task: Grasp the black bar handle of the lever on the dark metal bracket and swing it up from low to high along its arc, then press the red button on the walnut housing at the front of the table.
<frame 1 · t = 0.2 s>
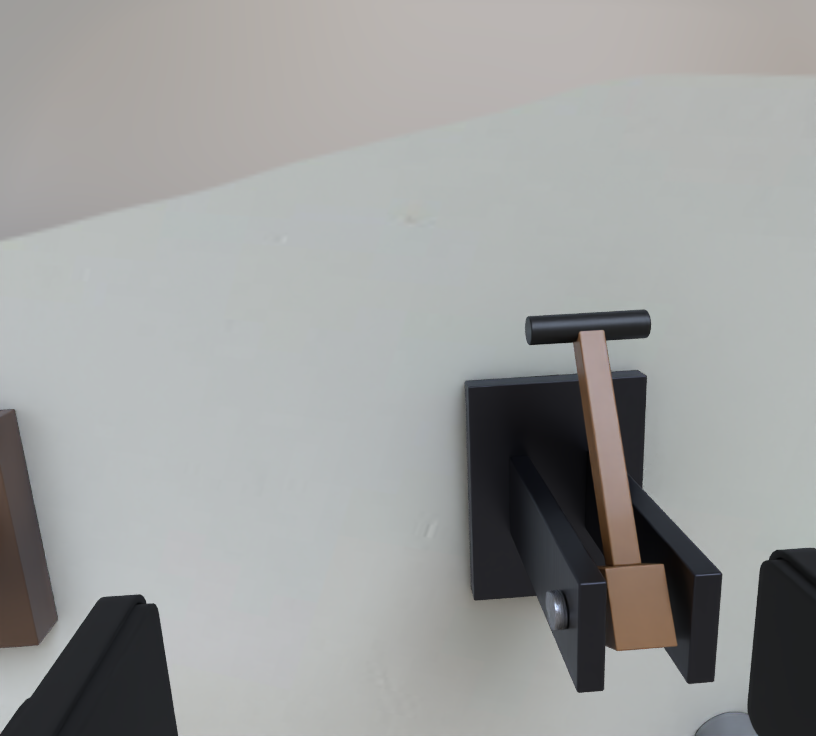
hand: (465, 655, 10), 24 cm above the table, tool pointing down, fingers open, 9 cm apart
lever: (608, 467, 26), point 8 cm above the table, hinge at -30.0°
bracket: (551, 483, 35), on the table
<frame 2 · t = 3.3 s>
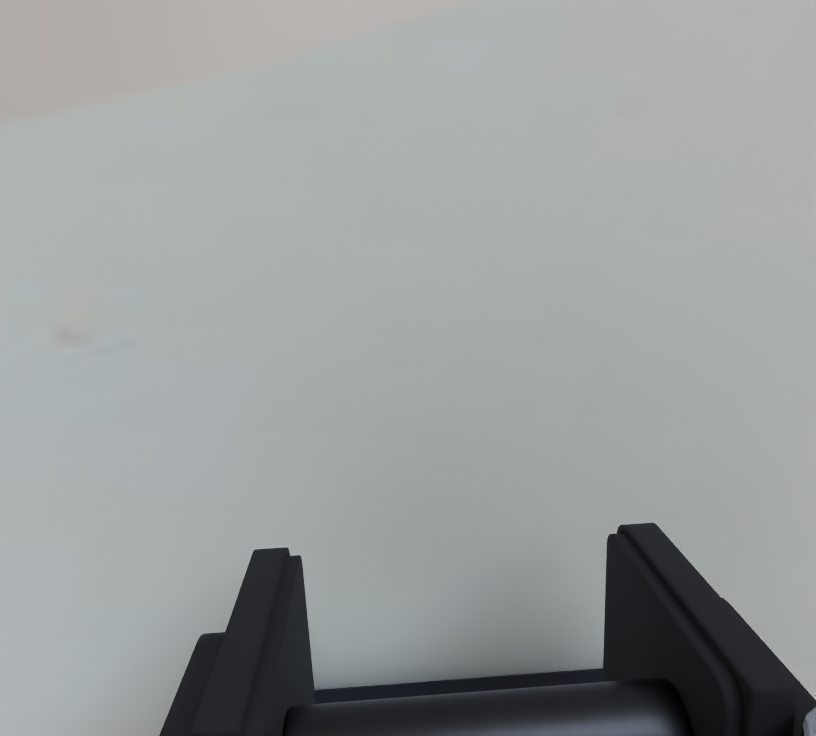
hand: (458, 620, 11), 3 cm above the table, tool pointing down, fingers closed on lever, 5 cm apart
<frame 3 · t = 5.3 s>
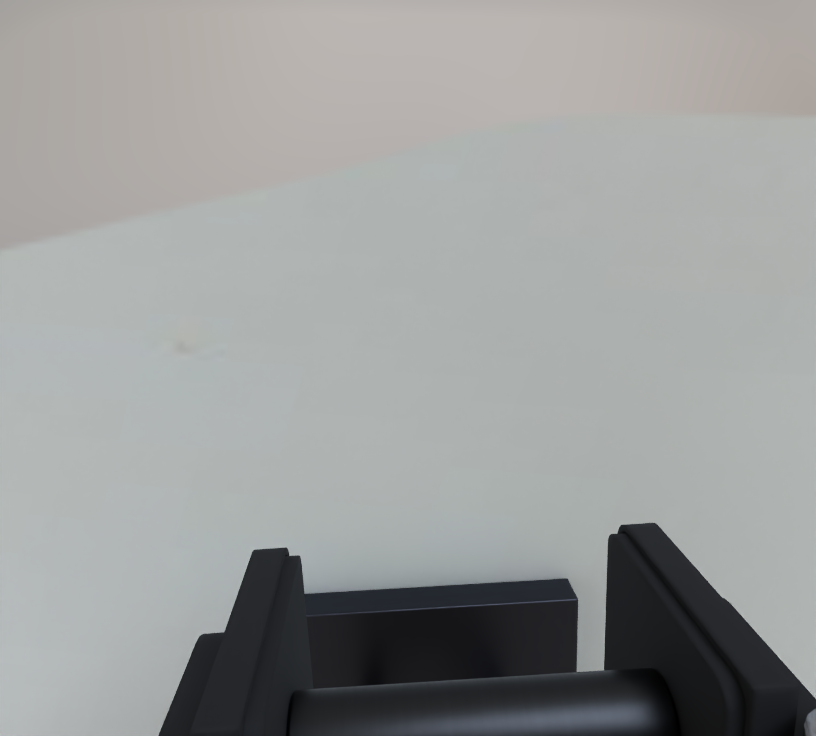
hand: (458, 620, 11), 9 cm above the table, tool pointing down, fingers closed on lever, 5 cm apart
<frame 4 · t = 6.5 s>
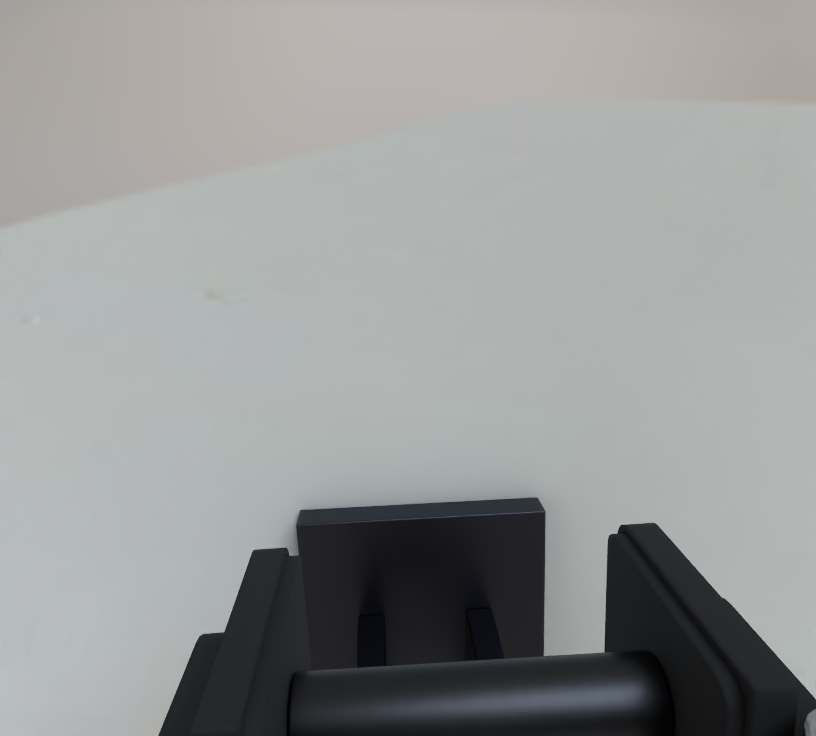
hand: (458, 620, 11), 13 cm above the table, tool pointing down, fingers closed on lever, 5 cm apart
bracket: (424, 642, 26), on the table
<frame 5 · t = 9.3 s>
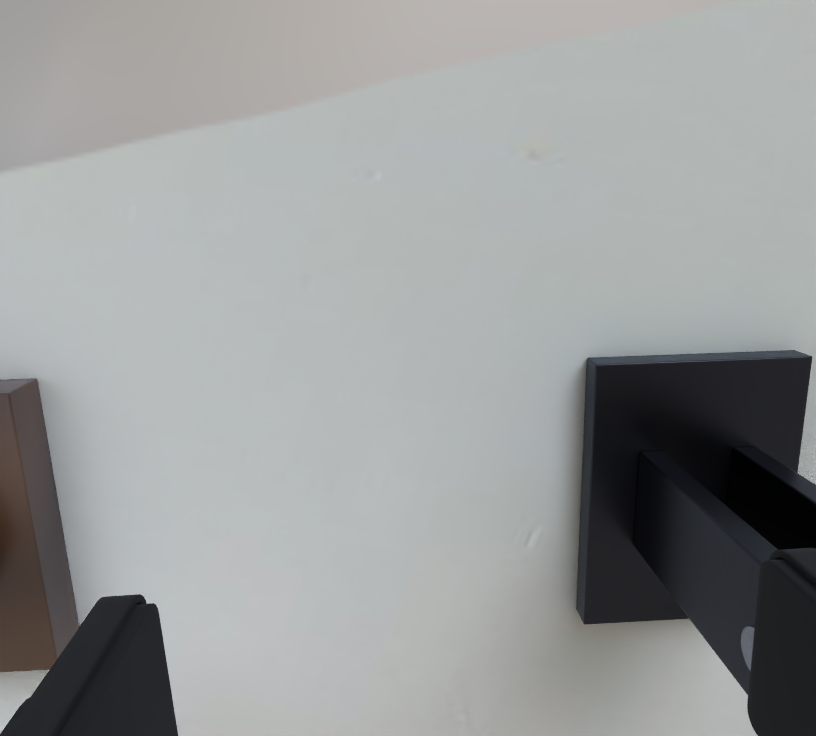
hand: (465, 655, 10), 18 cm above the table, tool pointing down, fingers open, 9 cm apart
bracket: (680, 485, 29), on the table
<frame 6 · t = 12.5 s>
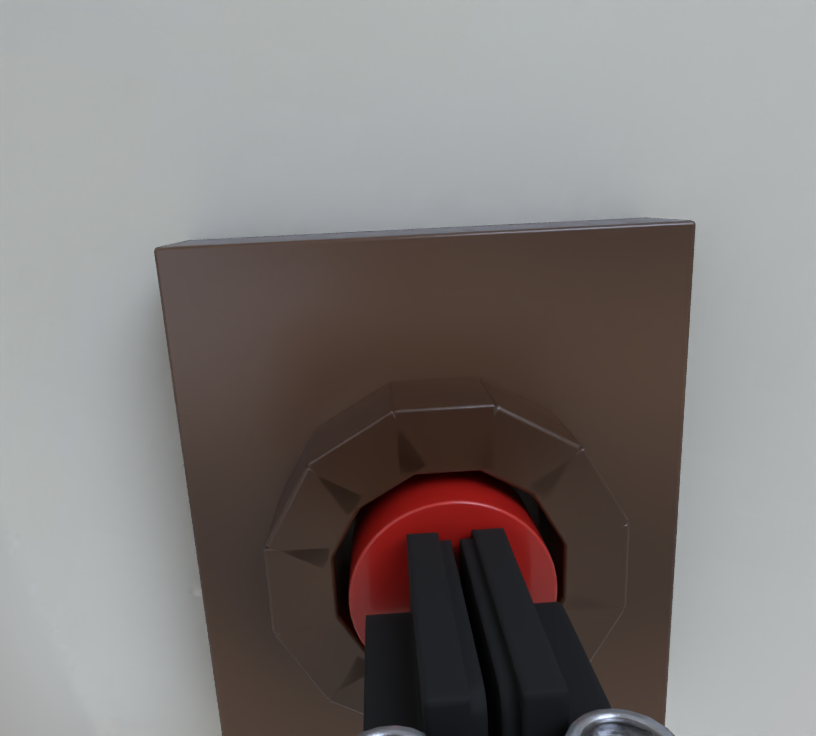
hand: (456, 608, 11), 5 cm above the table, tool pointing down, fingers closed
button: (448, 570, 12), point 4 cm above the table, slide at -0.7 cm, touching gripper
button box: (431, 486, 16), on the table
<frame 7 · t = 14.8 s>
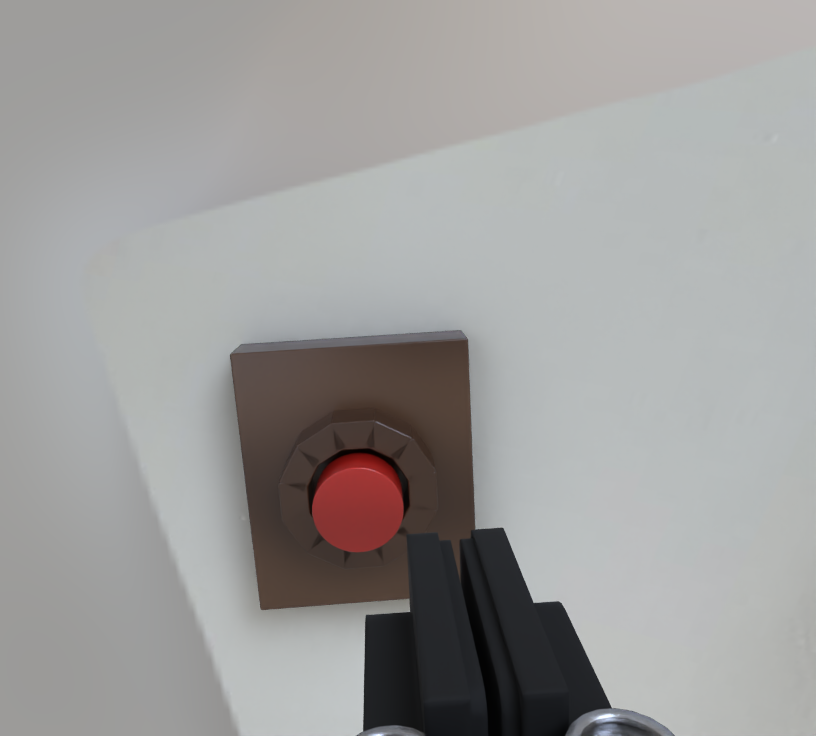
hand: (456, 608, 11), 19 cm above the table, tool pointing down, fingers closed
button: (358, 501, 27), point 4 cm above the table, slide at 0.1 cm
button box: (361, 462, 31), on the table
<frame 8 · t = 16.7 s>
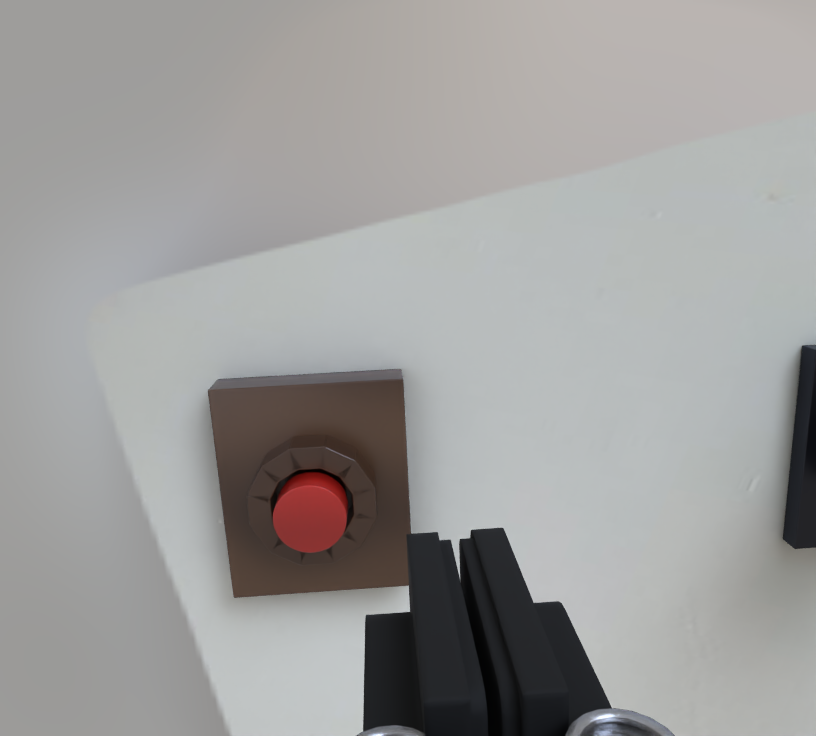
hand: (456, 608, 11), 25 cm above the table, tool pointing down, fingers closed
button: (311, 511, 33), point 4 cm above the table, slide at 0.1 cm
button box: (318, 476, 37), on the table
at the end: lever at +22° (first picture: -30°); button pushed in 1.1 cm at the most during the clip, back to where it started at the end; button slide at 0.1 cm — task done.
